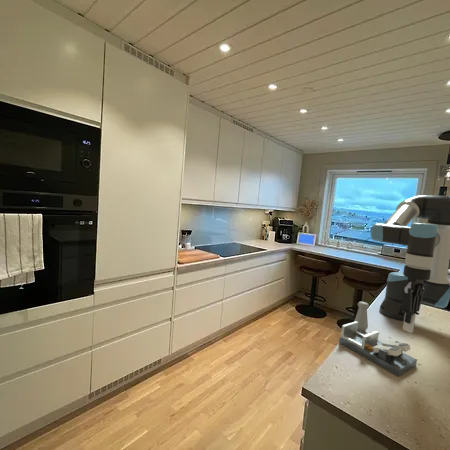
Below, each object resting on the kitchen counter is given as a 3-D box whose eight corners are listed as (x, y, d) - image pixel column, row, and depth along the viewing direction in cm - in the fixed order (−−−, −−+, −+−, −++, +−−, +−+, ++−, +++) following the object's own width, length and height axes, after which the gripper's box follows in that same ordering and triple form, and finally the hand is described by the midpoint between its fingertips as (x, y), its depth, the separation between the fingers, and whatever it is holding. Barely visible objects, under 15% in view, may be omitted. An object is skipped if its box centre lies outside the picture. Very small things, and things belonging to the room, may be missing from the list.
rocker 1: (378, 349, 95) (377, 344, 95) (401, 353, 88) (400, 347, 89) (373, 351, 93) (372, 346, 94) (396, 356, 87) (395, 350, 87)
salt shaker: (354, 325, 120) (358, 299, 119) (368, 330, 117) (372, 302, 115) (351, 329, 116) (355, 302, 115) (365, 334, 112) (369, 306, 111)
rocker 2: (387, 345, 98) (386, 340, 99) (410, 349, 92) (409, 343, 92) (382, 347, 97) (381, 342, 97) (405, 351, 90) (404, 345, 90)
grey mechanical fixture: (357, 336, 110) (359, 319, 109) (416, 366, 91) (419, 346, 91) (339, 342, 103) (341, 325, 102) (398, 376, 85) (401, 355, 84)
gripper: (413, 263, 96) (404, 323, 98) (396, 265, 89) (387, 329, 91) (438, 268, 89) (427, 332, 91) (421, 270, 82) (411, 339, 84)
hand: (407, 330), depth 91 cm, fingers closed
